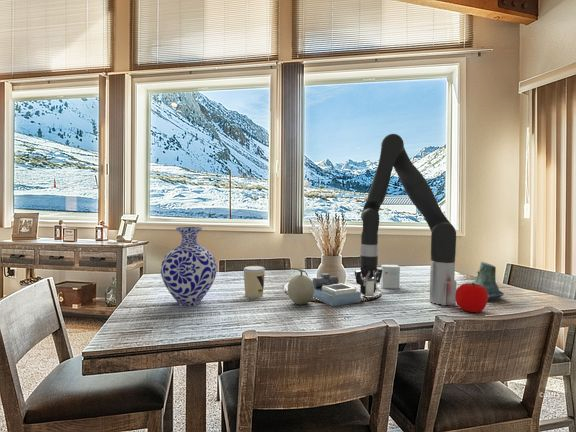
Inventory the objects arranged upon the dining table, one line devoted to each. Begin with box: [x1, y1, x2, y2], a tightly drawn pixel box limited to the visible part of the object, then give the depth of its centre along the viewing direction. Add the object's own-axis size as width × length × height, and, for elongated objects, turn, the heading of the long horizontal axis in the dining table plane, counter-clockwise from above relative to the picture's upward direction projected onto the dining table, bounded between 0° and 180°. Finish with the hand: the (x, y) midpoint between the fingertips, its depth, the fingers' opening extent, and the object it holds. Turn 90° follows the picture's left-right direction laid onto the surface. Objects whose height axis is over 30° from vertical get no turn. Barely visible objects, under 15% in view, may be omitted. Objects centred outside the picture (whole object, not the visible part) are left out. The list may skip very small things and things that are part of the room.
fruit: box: [285, 266, 314, 305], centre depth 152 cm, size 10×12×15 cm
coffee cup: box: [243, 265, 266, 298], centre depth 164 cm, size 9×9×12 cm
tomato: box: [455, 282, 489, 313], centre depth 145 cm, size 12×12×11 cm
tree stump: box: [472, 261, 505, 301], centre depth 166 cm, size 18×20×18 cm
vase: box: [160, 226, 218, 307], centre depth 151 cm, size 22×22×30 cm
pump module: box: [361, 278, 375, 296], centre depth 165 cm, size 5×5×8 cm
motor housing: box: [311, 272, 362, 307], centre depth 160 cm, size 18×14×9 cm
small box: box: [380, 264, 401, 290], centre depth 182 cm, size 8×6×10 cm
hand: (368, 293), depth 165 cm, fingers closed on pump module, 4 cm apart
